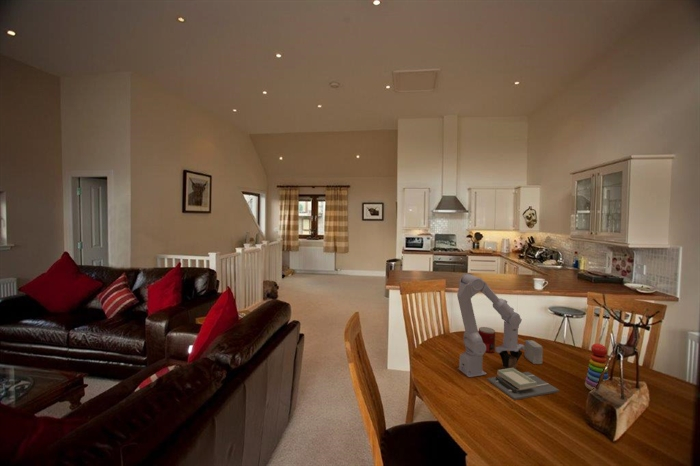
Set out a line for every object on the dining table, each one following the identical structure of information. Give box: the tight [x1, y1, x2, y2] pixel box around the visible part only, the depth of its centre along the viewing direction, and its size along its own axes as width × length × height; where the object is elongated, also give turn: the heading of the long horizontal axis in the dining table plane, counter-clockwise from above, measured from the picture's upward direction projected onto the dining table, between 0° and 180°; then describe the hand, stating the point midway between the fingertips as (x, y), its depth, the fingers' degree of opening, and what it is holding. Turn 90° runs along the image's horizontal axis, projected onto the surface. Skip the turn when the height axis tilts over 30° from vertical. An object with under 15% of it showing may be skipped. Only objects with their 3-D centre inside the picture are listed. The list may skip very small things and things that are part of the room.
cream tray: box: [496, 368, 537, 390], centre depth 125 cm, size 8×12×3 cm, turn 16°
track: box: [486, 371, 560, 401], centre depth 126 cm, size 22×15×2 cm
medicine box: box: [524, 339, 544, 365], centre depth 149 cm, size 8×4×9 cm, turn 179°
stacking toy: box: [584, 343, 610, 391], centre depth 123 cm, size 8×8×19 cm
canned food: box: [478, 326, 496, 354], centre depth 160 cm, size 8×8×11 cm
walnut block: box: [502, 354, 518, 370], centre depth 139 cm, size 4×4×6 cm
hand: (509, 366), depth 139 cm, fingers closed on walnut block, 4 cm apart
